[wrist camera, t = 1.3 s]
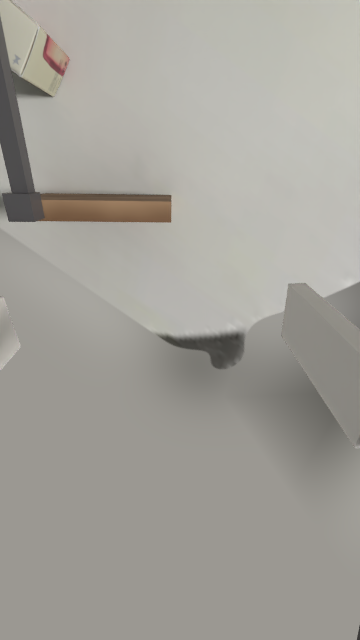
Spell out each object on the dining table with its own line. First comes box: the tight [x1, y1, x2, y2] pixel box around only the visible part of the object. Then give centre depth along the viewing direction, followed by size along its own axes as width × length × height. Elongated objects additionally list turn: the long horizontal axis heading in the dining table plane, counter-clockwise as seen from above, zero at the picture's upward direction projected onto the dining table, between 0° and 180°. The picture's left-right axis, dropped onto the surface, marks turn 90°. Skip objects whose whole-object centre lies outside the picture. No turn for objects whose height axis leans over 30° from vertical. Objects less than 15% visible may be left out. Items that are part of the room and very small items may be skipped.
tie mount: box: [38, 193, 171, 222], centre depth 27 cm, size 30×16×9 cm, turn 179°
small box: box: [0, 0, 69, 97], centre depth 27 cm, size 5×4×8 cm
